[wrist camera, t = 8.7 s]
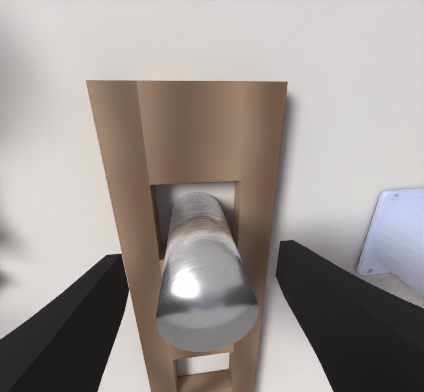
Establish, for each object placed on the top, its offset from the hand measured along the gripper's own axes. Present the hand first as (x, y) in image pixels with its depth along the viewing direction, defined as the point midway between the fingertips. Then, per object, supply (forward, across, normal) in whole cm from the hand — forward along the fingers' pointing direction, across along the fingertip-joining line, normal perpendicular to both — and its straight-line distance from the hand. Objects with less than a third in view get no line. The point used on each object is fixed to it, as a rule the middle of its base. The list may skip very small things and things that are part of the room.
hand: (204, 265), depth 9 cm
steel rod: (+6, 0, 0) cm, 6 cm away
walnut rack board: (+6, 0, +8) cm, 10 cm away
